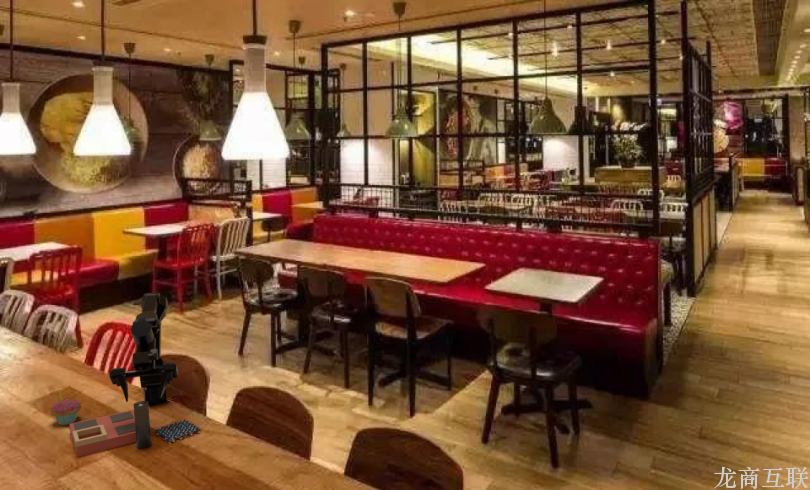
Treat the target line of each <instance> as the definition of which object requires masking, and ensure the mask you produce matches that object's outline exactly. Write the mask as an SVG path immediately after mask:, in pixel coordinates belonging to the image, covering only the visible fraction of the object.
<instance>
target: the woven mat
mask: <svg viewBox="0 0 810 490" xmlns="http://www.w3.org/2000/svg"><path fill="white" fill-rule="evenodd" d="M153 433H154V435H155V434H156V435H155V436H156V437H158V438H160V439H162V441H163V442H166V443H167V444H169V445H171V444H172V443H175V442H179V441H181V440H184V439H186V438H190V437H193V436H196V435H197V434H200V433H201V428H200V426H197V425H196V424H194V423H192V422H190V420H187V419H184V420H179V421H178V422H174V423H170V424H168V425H164V426H161V427H160V428H156V429H155V430H154V432H153Z"/></svg>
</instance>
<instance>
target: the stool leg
mask: <svg viewBox="0 0 810 490" xmlns="http://www.w3.org/2000/svg"><path fill="white" fill-rule="evenodd" d="M132 406H133V411H134V419H135V431H136V442H135V443H136V444H135V445H136V449H138V450H147V449H149V448H150V447H152V431H151V421H150V420H151V419H150V407H149V403H148V401H144V400H140V401H136V402H134V403H133V405H132Z"/></svg>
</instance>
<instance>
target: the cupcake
mask: <svg viewBox="0 0 810 490" xmlns="http://www.w3.org/2000/svg"><path fill="white" fill-rule="evenodd" d="M58 394H59V398H60V401H59V400H58V401H57V402H55V403H54V404H53V405H52V406H51V408H50V413H51V414H50V415H51V416H54V417H55V419H56V420H57V422H58V424H59V425H62V426H65V425H66V426H67V425H70V424H72V423H76V420H77V417H78V414H79V411H81V409H82V404H81V402H80V401H79V400H76V399H74V398H65V399H63V394H62V389H60V388H59V387H58Z"/></svg>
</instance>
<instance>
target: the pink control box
mask: <svg viewBox="0 0 810 490" xmlns="http://www.w3.org/2000/svg"><path fill="white" fill-rule="evenodd" d="M69 430H70V431H69V432H70V436H71V439H72V440H71V441H72V443H73V448H74V452H75V455H76V457H77V458H78V457H82V456H86V455H90V454H95V453H98V452H103V451H106V450H110V449H114V448H119V447H122V446H126V445H130V444H134V443H136V431H135V419H134V409H132V410H126V411H122V412H118V413H113V414H108V415H104V416H100V417H95V418H89V419H86V420H82V421H77V422H76V421H75V422H73V423H71V424H69Z"/></svg>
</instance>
